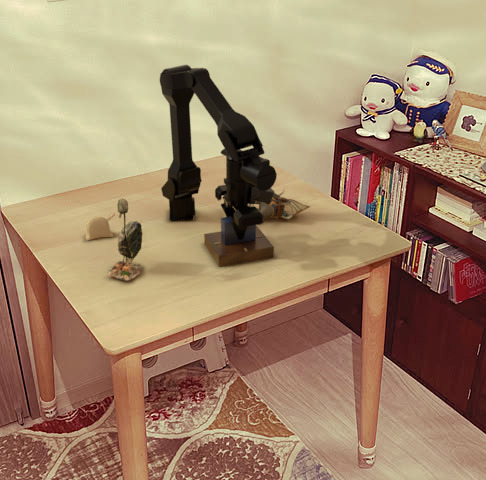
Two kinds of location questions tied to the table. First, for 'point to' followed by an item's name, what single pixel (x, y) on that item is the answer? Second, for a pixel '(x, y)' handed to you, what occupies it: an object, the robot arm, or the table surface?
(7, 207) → the table surface
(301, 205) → the figurine
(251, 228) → the blue block
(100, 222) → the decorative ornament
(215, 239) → the brown slab
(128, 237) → the plant with pod
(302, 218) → the table surface
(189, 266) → the table surface
